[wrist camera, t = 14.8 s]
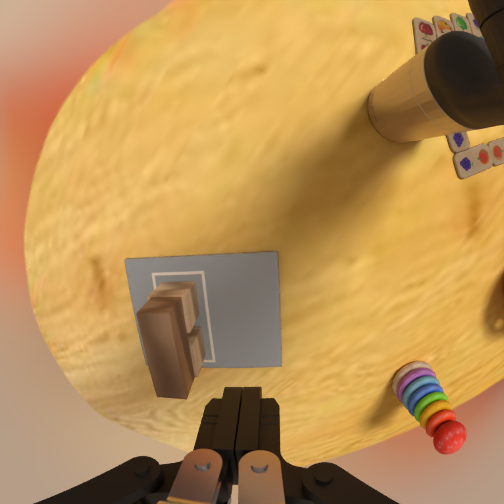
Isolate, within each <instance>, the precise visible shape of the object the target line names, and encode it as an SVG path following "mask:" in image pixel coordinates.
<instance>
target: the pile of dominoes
mask: <svg viewBox="0 0 504 504" xmlns="http://www.w3.org/2000/svg"><path fill="white" fill-rule="evenodd" d="M450 19H451V21H449V20H447V19H445V18H442V17H440V16H434V17H433V18H432V20H433V24H432V23H431V22H429V21H426V20H423V19H420V18H414V19H413V20H412V23H413V31H414V39H415V49H416V54H418V53H419V52H420V51H421V50H423V49H424V48H425V47H427V46H428V45H429V44H430V43H432V42H433V41H434V40H436V39H437V38H438V37H440V36H441V35H443V34H445V33H447V32H451V31H464V32H468V33H471V34H473V35H475V36H477V37H479V38H480V39H482V40H483V41H485V40H484V38H483V36H482V33H481V31H480V29H479V27H478V25H477V23H476V21H475V18H474V16H473V14H471V13H467V14H466V18H465V17H463V16H461V15H458V14H456V13H451V14H450ZM446 137H447V140H448V143H449V146H450V149H451V151H452V152H454V155H453V162H454V165H455V168H456V171H457V174H458V177H459V178H461V179H464V178H467V177H469V176H472V175H474V174H477V173H479V172H481V171H484V170H486V169H488V168H491V167H492V165H494V166H497V165H500V164H503V163H504V137H503V138H500V139H496V140H493V141H490V142H488V144H487V145H486V144H483V143H482V144H479V145H477V146H474V147H471V148H469V146H470V142H469V139H468V136H467V133H466V131H465V132H460V133H455V134H449V135H446Z"/></svg>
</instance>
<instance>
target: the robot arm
mask: <svg viewBox="0 0 504 504" xmlns="http://www.w3.org/2000/svg"><path fill="white" fill-rule="evenodd" d="M468 2H469V6H470V9H471V11H472V13H473V16H474V18H475V21H476V23H477V25H478V27H479V29H480V31H481V33H482V36H483V38H484V40H485V41H483V40H482V39H480V38H479V37H477V36H475V35H473V34H471V33H468V32H464V31H451V32H447V33H445V34H443V35H441V36H440V37H438V38H437V39H436V40H434V41H433V42H432V43H430V44H429V45H428V46H427V47H425V48H424V49H423V50H421V51H420V52H419V53H418V54H416V55H415V56H414V57H412V58H411V59H410V60H409V61H407V62H406V63H405V64H403V65H402V66H401V67H400V68H398V69H397V70H396V71H394V72H393V73H392V74H391V75H389V76H388V77H387V78H386V79H384V80H383V81H382V82H381V83H379V84H378V85H377V86H376V87H375V88H374V89H373V90H372V91H371V94H370V96H369V99H368V113H369V117H370V119H371V122H372V123H373V125H374V127H375V128H376V129H377V130H378V132H379V133H380V134H381V135H383V136H384V137H385V138H387V139H389V140H391V141H394V142H397V143H407V142H412V141H417V140H423V139H428V138H433V137H438V136H444V135H449V134H455V133H460V132H465V131H471V130H477V129H483V128H488V127H493V126H498V125H504V0H468ZM232 485H239V487H238V504H399V503H397V502H395V501H394V500H392V499H390V498H388V497H387V496H385V495H383V494H382V493H380V492H378V491H377V490H375V489H373V488H372V487H370V486H368V485H367V484H365V483H364V482H362V481H360V480H359V479H357V478H356V477H354V476H353V475H351V474H350V473H348V472H347V471H345V470H344V469H342V468H340V467H339V466H337V465H335V464H333V463H327V462H322V463H317V464H314V465H312V466H310V467H309V468H302V467H297V466H294V465H291V464H289V463H287V462H286V461H285V460H284V459H283V457H282V456H281V453H280V414H279V405H278V403H277V402H276V400H275V399H274V398H262V389H261V387H244V388H243V387H225V388H224V393H223V397H222V399H216V398H212V400H211V401H210V402H209V403H208V404H207V405H206V406H205V410H204V413H203V417H202V420H201V424H200V428H199V431H198V435H197V439H196V442H195V446H194V449H193V451H191V452H190V453H188V454H187V455H186V456H185V457H184V459H183V460H182V461H180V462H176V463H170V464H162V465H159V463H158V462H157V461H156V460H155V459H153V458H151V457H147V456H138V457H135V458H132V459H130V460H128V461H126V462H124V463H123V464H121V465H119V466H117V467H115V468H113V469H111V470H109V471H107V472H105V473H103V474H101V475H99V476H97V477H95V478H93V479H91V480H89V481H86V482H84V483H82V484H80V485H78V486H75V487H73V488H71V489H69V490H66V491H64V492H62V493H59V494H57V495H55V496H52V497H50V498H47V499H45V500H42V501H39V502H37V503H34V504H230V503H231V493H232Z"/></svg>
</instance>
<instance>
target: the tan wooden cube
mask: <svg viewBox="0 0 504 504" xmlns="http://www.w3.org/2000/svg"><path fill="white" fill-rule="evenodd" d="M151 297H181V298H182V305H183V312H184V318H185V324H186V330H187V333H190V332H191V330H192V328H193V326H194V324H195V322H196V320H197V318H198V316H199V314H200V312H199V305H198V297H197V289H196V281H177V282H161V283H160V284H159V286H158V287H157V288H156V289H155V290H154V291H153V292H152V293H151V294H150V295H149V296H148V297H147V299H148V300H149V299H150V298H151Z"/></svg>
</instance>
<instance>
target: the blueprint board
mask: <svg viewBox="0 0 504 504" xmlns="http://www.w3.org/2000/svg"><path fill="white" fill-rule="evenodd" d="M125 266H126V272H127V278H128V283H129V289H130V294H131V299H132V304H133V309H134V314H135V319H136V323H137V328H138V332H139V337H140V341H141V345H142V349H143V353H144V357H145V361H146V365H148V362H147V358H146V354H145V350H144V346H143V342H142V337H141V333H140V329H139V324H138V319H137V315H136V313H137V312H138V311H139V310H140V309H141V308H142V307H143V306H144V304H145V303H146V302H147V301H148V299H147V297H148V296H149V295H150V294H151V293H152V292H153V291H154V290H155V289H156V288H157V287H158V286H159V284H160V283H161V282H177V281H196V289H197V297H198V305H199V312H200V314H199V316H198V318H197V320H196V322H195V324H194V326H201V327H202V333H203V340H204V347H205V353H206V355H205V358H204V361H203V364H202V366H201V367H202V368H252V367H282V359H281V324H280V295H279V270H278V251H267V252H247V253H226V254H206V255H186V256H166V257H146V258H127V259H125Z"/></svg>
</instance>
